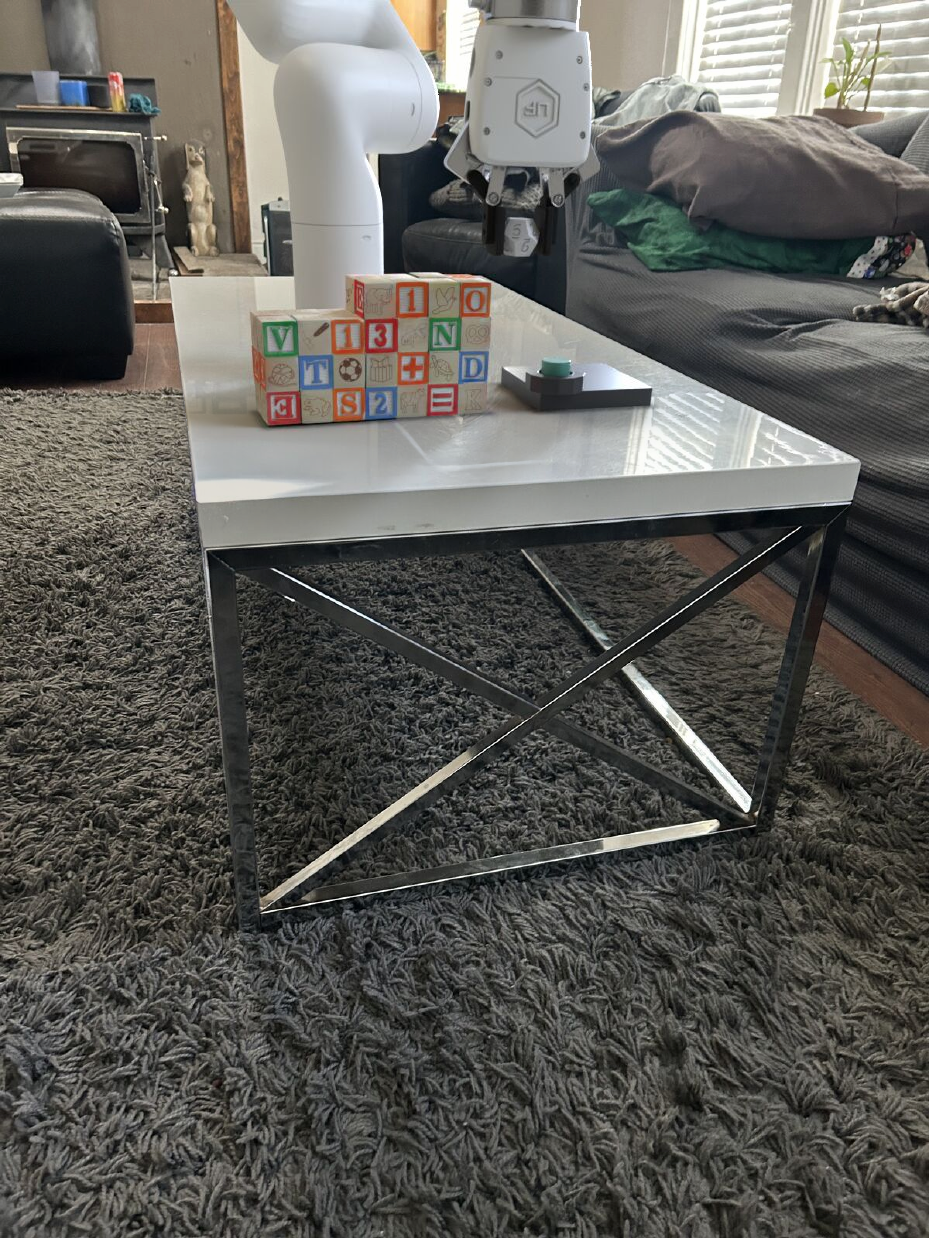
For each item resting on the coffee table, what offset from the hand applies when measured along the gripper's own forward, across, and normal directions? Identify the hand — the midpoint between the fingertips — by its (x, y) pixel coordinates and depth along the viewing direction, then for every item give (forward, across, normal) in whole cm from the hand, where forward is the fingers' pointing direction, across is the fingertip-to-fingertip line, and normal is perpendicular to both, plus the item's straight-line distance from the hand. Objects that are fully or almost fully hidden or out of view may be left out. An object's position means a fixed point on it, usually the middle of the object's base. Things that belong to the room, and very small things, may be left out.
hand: (518, 252), depth 84 cm
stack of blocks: (+15, -12, +4) cm, 20 cm away
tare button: (+12, +6, +3) cm, 13 cm away
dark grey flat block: (+15, +10, +8) cm, 19 cm away
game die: (0, 0, 0) cm, 0 cm away
